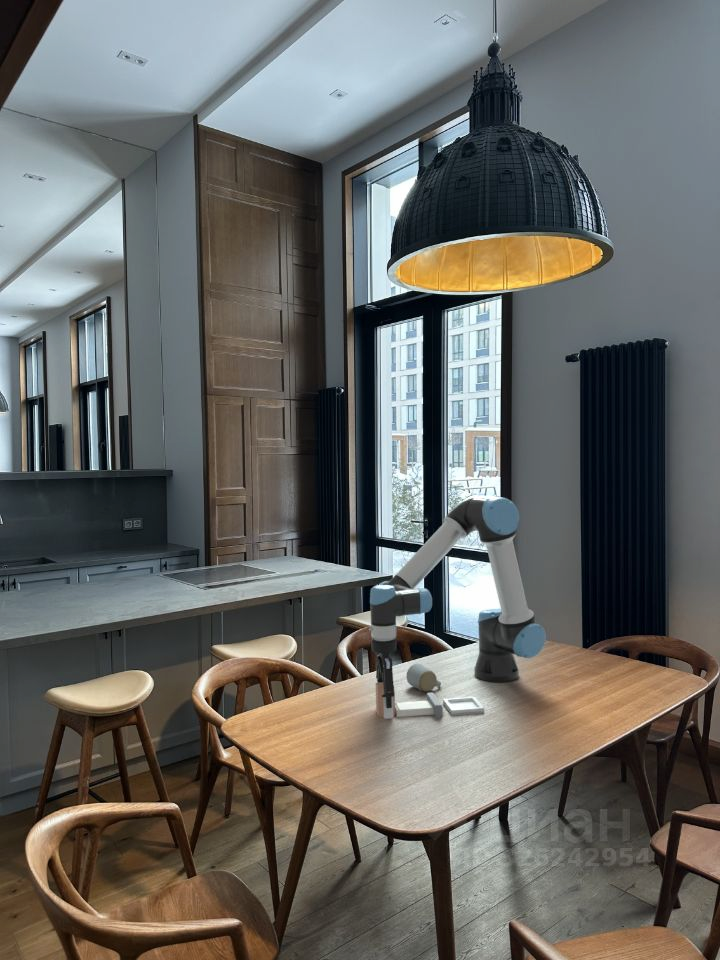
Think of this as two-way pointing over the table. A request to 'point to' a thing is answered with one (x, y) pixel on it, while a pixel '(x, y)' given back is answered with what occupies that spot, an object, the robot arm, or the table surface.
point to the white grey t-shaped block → (420, 707)
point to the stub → (381, 700)
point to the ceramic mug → (422, 678)
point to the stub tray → (463, 705)
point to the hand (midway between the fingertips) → (385, 711)
